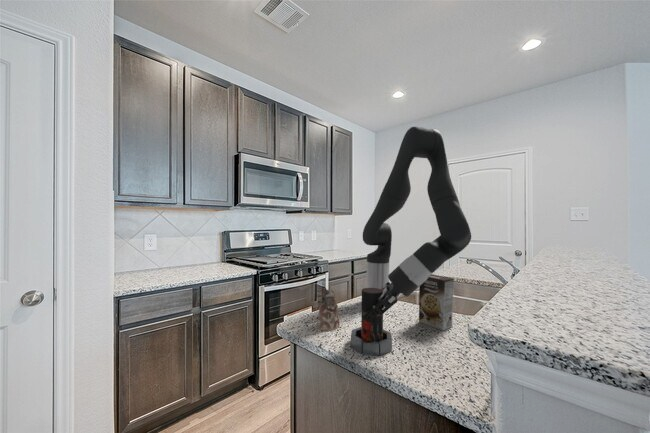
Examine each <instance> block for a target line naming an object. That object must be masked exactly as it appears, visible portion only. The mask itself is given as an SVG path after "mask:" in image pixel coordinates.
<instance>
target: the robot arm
mask: <svg viewBox="0 0 650 433" xmlns="http://www.w3.org/2000/svg"><path fill="white" fill-rule="evenodd" d="M415 158H418V159H419V158H420V159H427V161H428V162H429V165H430V167H431V171H430V176H429V178H428V181H427V182H428V183H427V187H426V188H427V195H428V199H429V201H430V205H431V208H432V210H433V212H434V214H435V219H436V224H437V227H438V231H439V236H437V237H436V238H435V239H434V240H433V241H427V242H425V243H424V244H422V245H421V246H420V247H419V248H418V249H416V250H415V252H413V253H412V254H411V255H410V256H408V257H406V258H405V259H404V260H403V261H402V262H401V263H399V265H397V267H396V268H394V269H393V270H392V271H391V272H390V258H391V256H392V255H391V254H392V238H393V237H392V235H393V234H392V228H391V225H390V224H389V223H386V221H387V220H389V219H390V218H391V217H392V216H394V215H396V214H397V213H398V212H399V211H400V210H402V208H404V206H405V204H406V203H407V201H408V198H409V196H410V194H411V191H412V190H411V189H412V187H411V186H412V185H411V180H410V177H409V176H410V175H409V170H410V166H411V164H412V162H413V160H414V159H415ZM457 195H458V194H457V193H456V190H455V188H454V185H453V182H452V179H451V176H450V171H449V163H448V158H447V154H446V148H445V143H444V138H443V136H442V134H441V132H440V131H439V130H438V129H436V128H435V129H434V128H431V127H430V128H429V127H423V126H411V127H410V128H408V129H407V131H406V132H405V134H404V136H403V138H402V140H401V144H400V147H399V149H398V153H397V156H396V159H395V161H394V164H393V167H392V169H391V171H390V174H389V177H388V178H387V180H386V182H385V185H384V187H383V189H382V192H381V194H380V197H379V199H378V201H377V203H376V205H375V207H374V209H373V211H372V213H371V215H370V217H369V218H368V220H367V221H366V224H365V226H364V227H363V230H362V231H363V232H362V241H363V243H364V244H365V245H367V246H377V248H376V249H375V250H374V251H372V252H370V253H368V254H367V255H366V287H365V288H378V289H381V290H383V291H382V294H381V295H380V296H379V297H378V298H377V302H376V303H375V305H373V307H372V308H371V309H370V310H369V311H367V312H366V313H365V314H364V315H363V318H364V320H365V321H366V322H368V323H369V322H370V321H371V320H372V319H373V318H375V317H376V316H377V315H378V314H380V315H383V316H384V314H385V313H386V312H387V311H388V310H389V309H391V308H392V307H393V306H394V305H395V304H396V303H397V302H398V301H399V300H398V296H399V295H400V294H402V295H403V296H404V297H409V296H410V295H412V294H413V293H414V292H415V291H417V289H419V287H420V285H421V284H423V283H424V282H425V281H426V280H427V279H428V278H429V276H430V275H431V274H434V272H436V271H437V270H438V269H439V268H440V267H441V266H442V265H443V264H445V262H447V261H448V260H450V259H451V258H454V256H456V255H457V254H460V253H461V252H462V251H463V250H464V249H465V248H467V246H469V244H470V242H471V240H472V233H471V228H470V226H469V223H468V220H467V218H466V215H465V214H464V212H463V210H462V208H461V205H460V200H459V197H458V196H457ZM379 306H382V308H380V307H379Z"/></svg>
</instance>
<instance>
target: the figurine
mask: <svg viewBox="0 0 650 433" xmlns="http://www.w3.org/2000/svg"><path fill="white" fill-rule="evenodd" d="M321 300H322V301H321V302H322V303H321V304H320V305H319V308H318V315H317V321H316V322H317V325H316V326H317V328H318V329H319V330H322V331H327V332H328V331H329V332H332V331H336V330H338V329H339V328H340V317H339V307H338V303H337V299H336V293H335V292H334V291H333V290H332V289H327V288H326V287H324V288H323V295H322V297H321Z"/></svg>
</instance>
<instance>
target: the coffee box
mask: <svg viewBox="0 0 650 433" xmlns="http://www.w3.org/2000/svg"><path fill="white" fill-rule="evenodd" d="M454 280H455V279H454V278H453V277H448V276H443V275H439V274H438V275H437V274H434V273H432V274H431V275H430V276H429V278H428V279H427V280H426V281H425V282H424V283H423V284H421V285H420V286H419V287H418V289H419V295H418V323H420V324H423V325H426V326H429V327H432V328H435V329H438V330H441V331H445V330H447V329H450V328H452V327H453V314H454V313H453V312H454V311H453V309H454V305H453V304H454V303H453V302H454V282H455V281H454Z"/></svg>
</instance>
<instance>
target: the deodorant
mask: <svg viewBox="0 0 650 433" xmlns="http://www.w3.org/2000/svg"><path fill="white" fill-rule="evenodd" d="M382 291H383V290H381V289H378V288H366V287H365V288H362V289H361V314H360V316H361V320H360V321H361V323H360V326H361V339H362V340H364V341H373V342H379V341H382V340H383V329H384V314H383V315H380V314H378V315H377V316H376V317H375V318H373V319H372V320H371V321H370V322H369V323H368V322H366V321H365V320H364V318H363V315H364V314H365V313H366V312H367V311H369V310H370V309H371V308H372V307H373V305H375V303H376V302H377V298H378V297H379V296H380V295H381V294H382ZM379 307H380V308H382V306H379Z"/></svg>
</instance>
